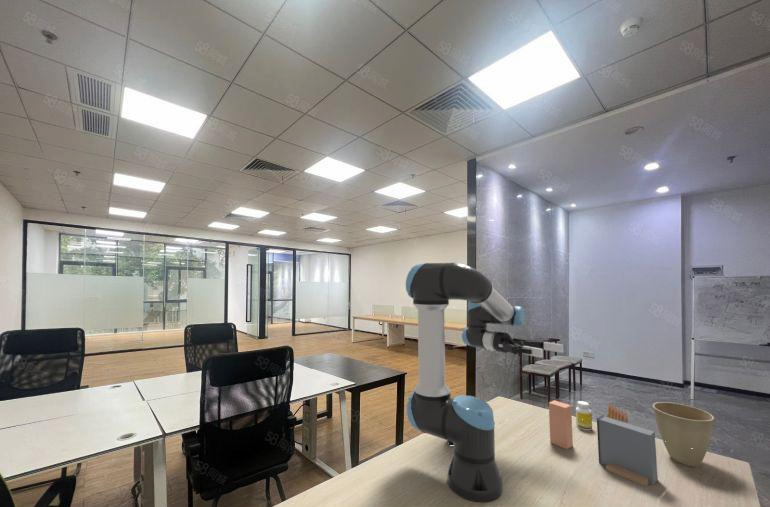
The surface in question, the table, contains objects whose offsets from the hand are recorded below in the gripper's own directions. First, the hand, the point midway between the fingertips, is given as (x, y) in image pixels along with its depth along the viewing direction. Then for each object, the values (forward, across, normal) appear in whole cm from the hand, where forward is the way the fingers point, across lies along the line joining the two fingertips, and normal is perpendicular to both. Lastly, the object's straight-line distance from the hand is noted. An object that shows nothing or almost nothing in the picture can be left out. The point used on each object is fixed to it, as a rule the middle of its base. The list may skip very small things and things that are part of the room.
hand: (552, 351), depth 109 cm
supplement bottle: (-6, -34, -35) cm, 49 cm away
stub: (-4, -12, -35) cm, 37 cm away
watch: (-28, +17, -36) cm, 48 cm away
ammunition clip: (+7, -33, -35) cm, 48 cm away
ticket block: (+15, -12, -35) cm, 40 cm away
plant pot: (+24, -35, -35) cm, 55 cm away
